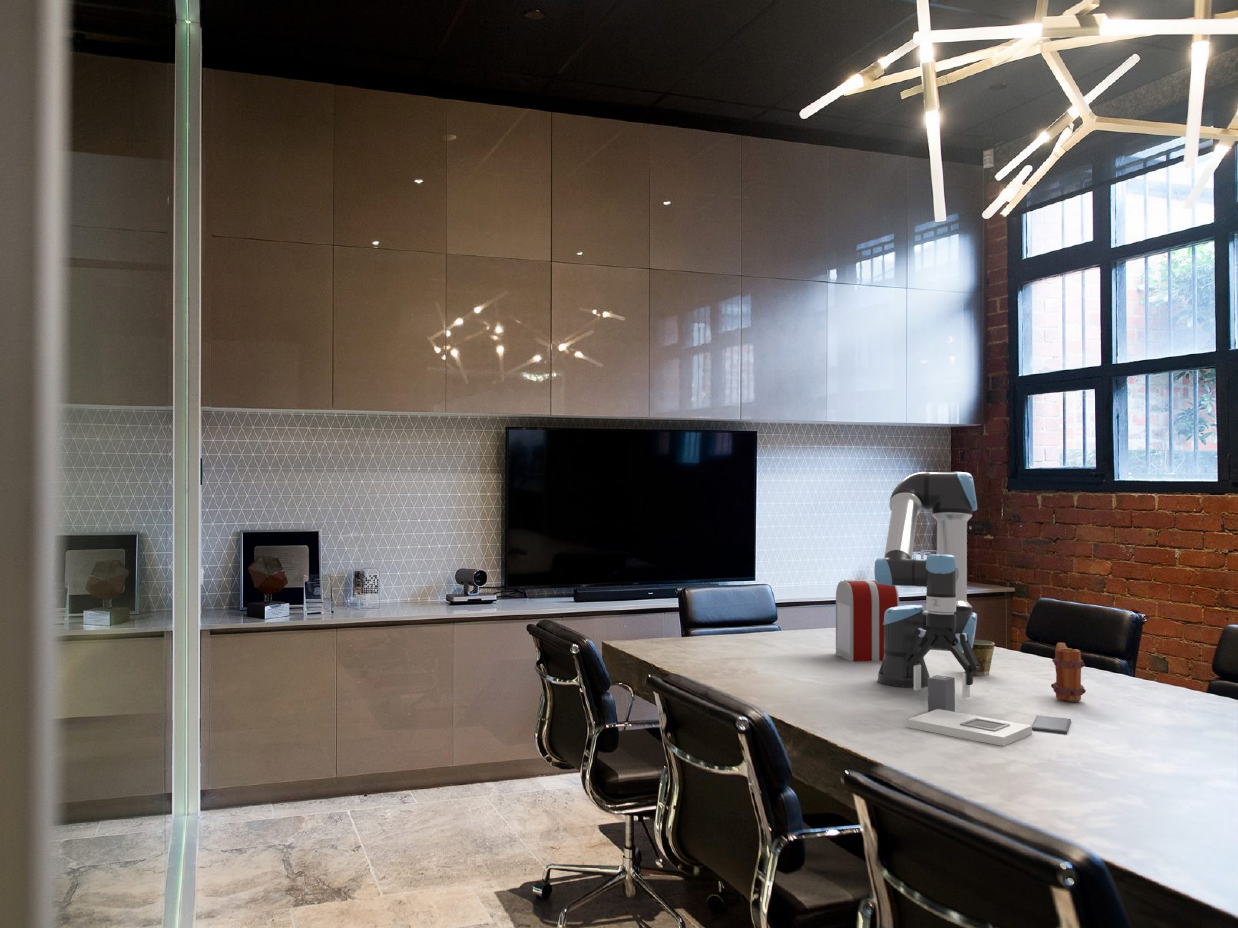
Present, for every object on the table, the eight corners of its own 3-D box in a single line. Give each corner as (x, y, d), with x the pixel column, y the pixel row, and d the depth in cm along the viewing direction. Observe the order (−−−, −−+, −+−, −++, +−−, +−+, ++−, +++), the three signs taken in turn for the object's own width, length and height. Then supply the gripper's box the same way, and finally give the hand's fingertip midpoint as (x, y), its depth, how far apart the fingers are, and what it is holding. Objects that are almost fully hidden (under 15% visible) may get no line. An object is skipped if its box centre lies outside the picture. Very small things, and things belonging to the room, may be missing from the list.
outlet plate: (907, 727, 234) (907, 717, 234) (937, 716, 245) (937, 707, 246) (1003, 746, 217) (1003, 735, 217) (1031, 733, 228) (1031, 724, 229)
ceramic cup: (1001, 674, 304) (1001, 642, 304) (982, 677, 298) (981, 645, 298) (966, 667, 314) (965, 637, 315) (947, 670, 309) (946, 640, 309)
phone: (1030, 732, 232) (1030, 726, 232) (1036, 719, 245) (1036, 714, 245) (1066, 736, 228) (1066, 730, 228) (1070, 723, 242) (1070, 718, 242)
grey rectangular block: (928, 711, 251) (927, 676, 251) (937, 708, 255) (936, 674, 255) (946, 714, 248) (945, 679, 248) (954, 711, 251) (954, 676, 251)
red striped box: (834, 653, 341) (834, 578, 342) (882, 652, 343) (881, 577, 344) (850, 661, 325) (850, 582, 326) (900, 660, 327) (900, 582, 328)
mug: (1088, 704, 260) (1088, 649, 261) (1057, 703, 262) (1056, 648, 262) (1074, 693, 275) (1074, 641, 275) (1044, 692, 276) (1044, 640, 277)
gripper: (891, 609, 258) (891, 688, 257) (980, 617, 240) (981, 702, 239) (904, 607, 263) (904, 684, 262) (993, 615, 246) (993, 698, 245)
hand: (941, 693), depth 251 cm, fingers open, 13 cm apart
